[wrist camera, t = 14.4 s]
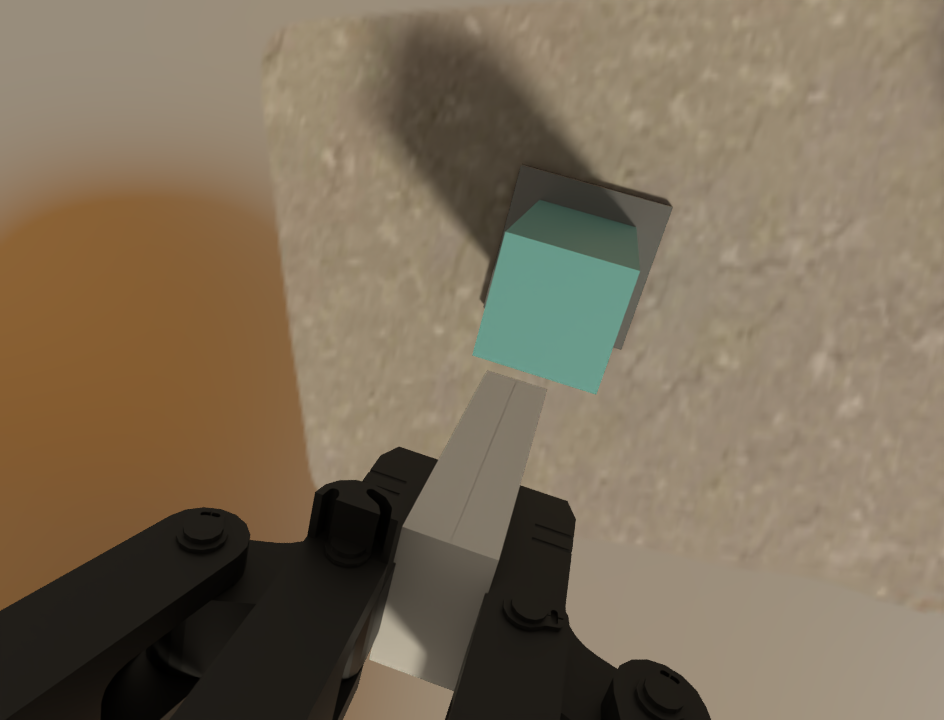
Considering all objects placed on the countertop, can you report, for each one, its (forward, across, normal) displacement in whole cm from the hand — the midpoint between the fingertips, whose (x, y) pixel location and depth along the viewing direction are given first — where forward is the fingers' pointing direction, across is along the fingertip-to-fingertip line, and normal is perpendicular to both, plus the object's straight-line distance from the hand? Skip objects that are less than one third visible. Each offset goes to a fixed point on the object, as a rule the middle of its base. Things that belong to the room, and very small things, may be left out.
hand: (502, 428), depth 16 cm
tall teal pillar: (+21, 0, 0) cm, 21 cm away
